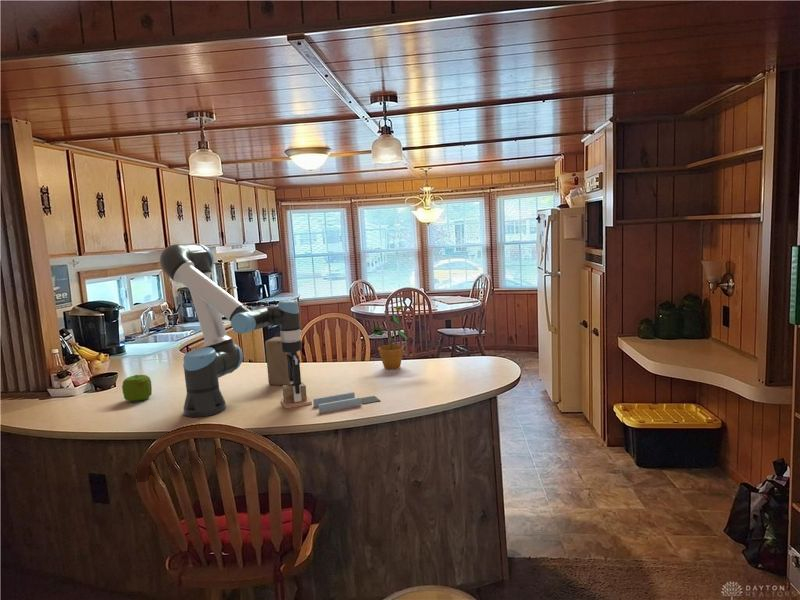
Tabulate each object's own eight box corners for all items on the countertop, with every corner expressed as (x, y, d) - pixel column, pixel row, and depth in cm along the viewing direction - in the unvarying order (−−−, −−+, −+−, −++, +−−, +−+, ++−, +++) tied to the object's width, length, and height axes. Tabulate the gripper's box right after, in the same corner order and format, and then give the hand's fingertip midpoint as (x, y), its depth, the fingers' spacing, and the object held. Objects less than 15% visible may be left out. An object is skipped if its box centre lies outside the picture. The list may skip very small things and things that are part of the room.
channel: (319, 413, 192) (319, 405, 192) (313, 406, 200) (313, 398, 200) (361, 405, 198) (360, 397, 198) (354, 399, 206) (353, 391, 206)
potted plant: (417, 364, 256) (414, 303, 252) (398, 374, 240) (394, 308, 236) (386, 361, 265) (383, 302, 261) (365, 370, 249) (361, 307, 245)
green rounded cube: (126, 398, 225) (122, 373, 224) (153, 394, 229) (150, 369, 228) (122, 405, 215) (119, 379, 214) (151, 401, 219) (148, 375, 217)
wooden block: (289, 385, 231) (285, 340, 228) (267, 385, 233) (264, 340, 231) (298, 379, 241) (294, 336, 238) (277, 379, 243) (274, 336, 240)
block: (286, 404, 202) (284, 388, 201) (283, 400, 206) (282, 385, 205) (306, 400, 205) (305, 385, 204) (303, 397, 209) (302, 382, 208)
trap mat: (363, 404, 199) (363, 403, 199) (357, 399, 206) (357, 398, 206) (380, 401, 202) (380, 400, 202) (374, 396, 208) (374, 395, 208)
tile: (285, 408, 199) (285, 406, 199) (281, 401, 208) (280, 399, 208) (311, 404, 203) (311, 401, 203) (306, 397, 212) (306, 394, 212)
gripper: (306, 343, 196) (311, 403, 199) (296, 335, 212) (301, 392, 215) (285, 345, 193) (291, 407, 196) (277, 338, 210) (282, 395, 212)
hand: (296, 399), depth 205 cm, fingers closed on block, 5 cm apart
